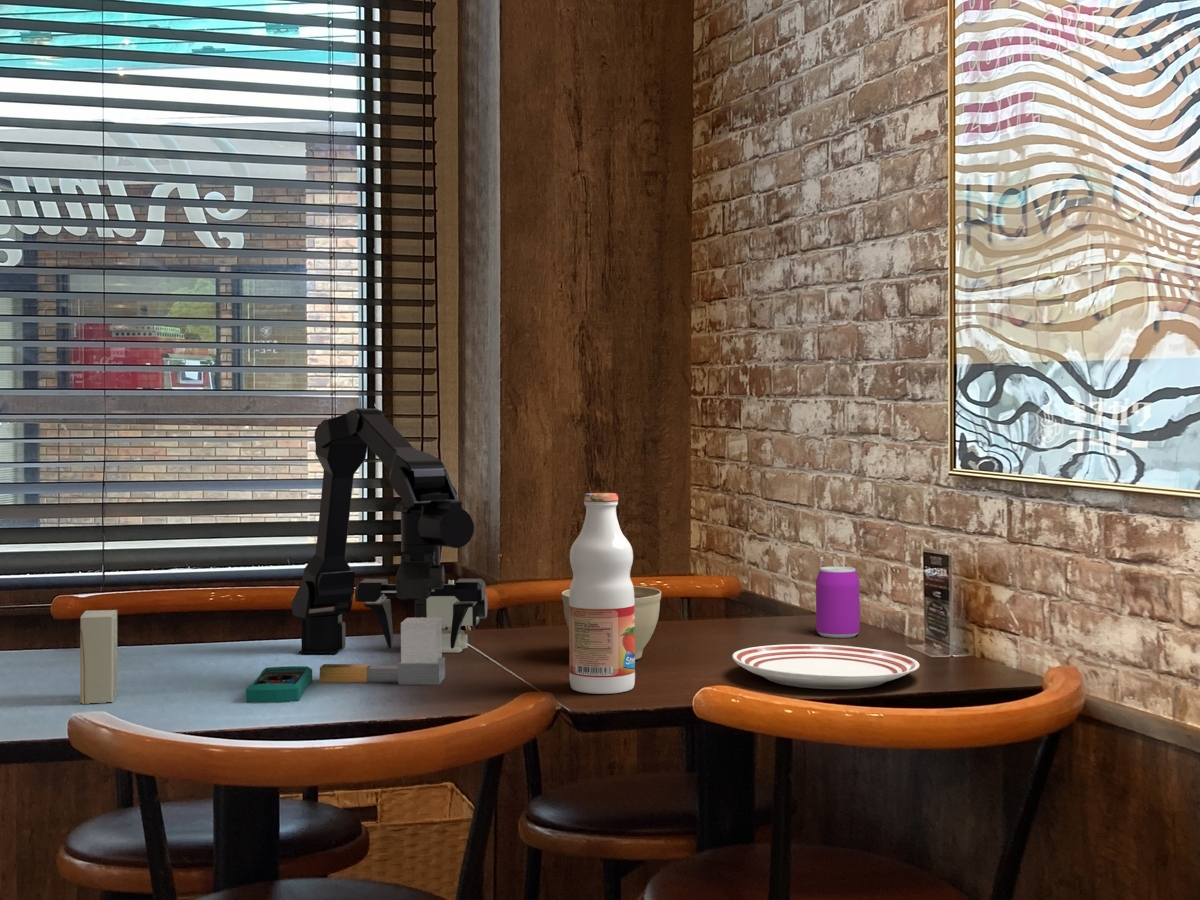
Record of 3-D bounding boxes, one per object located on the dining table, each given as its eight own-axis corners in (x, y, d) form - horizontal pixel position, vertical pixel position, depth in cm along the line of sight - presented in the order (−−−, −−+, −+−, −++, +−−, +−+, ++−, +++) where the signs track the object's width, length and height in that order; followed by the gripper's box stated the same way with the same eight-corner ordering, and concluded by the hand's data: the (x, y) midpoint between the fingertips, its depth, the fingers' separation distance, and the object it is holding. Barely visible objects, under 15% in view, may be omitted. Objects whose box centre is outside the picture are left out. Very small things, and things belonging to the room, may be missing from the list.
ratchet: (316, 684, 189) (316, 647, 189) (326, 676, 195) (326, 640, 195) (439, 684, 189) (438, 647, 188) (445, 676, 195) (444, 640, 194)
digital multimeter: (244, 706, 177) (244, 685, 176) (263, 685, 191) (262, 665, 191) (298, 705, 177) (298, 684, 177) (313, 684, 192) (313, 664, 192)
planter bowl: (547, 654, 213) (547, 588, 213) (636, 647, 220) (635, 583, 219) (585, 670, 198) (584, 600, 198) (678, 662, 205) (678, 594, 205)
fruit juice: (562, 684, 188) (561, 492, 188) (624, 680, 191) (622, 491, 190) (579, 697, 179) (577, 495, 179) (643, 692, 182) (642, 494, 181)
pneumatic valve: (485, 653, 214) (484, 581, 214) (414, 654, 214) (414, 582, 214) (488, 648, 219) (488, 577, 219) (420, 648, 220) (419, 578, 219)
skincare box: (85, 696, 182) (84, 610, 182) (119, 694, 183) (117, 609, 183) (79, 705, 176) (78, 616, 176) (114, 703, 177) (113, 615, 177)
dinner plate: (853, 656, 210) (853, 636, 210) (958, 688, 184) (958, 665, 184) (701, 669, 200) (701, 648, 200) (789, 704, 174) (789, 680, 174)
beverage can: (810, 632, 233) (809, 566, 233) (850, 631, 234) (850, 565, 234) (825, 639, 225) (824, 571, 225) (866, 638, 227) (866, 570, 227)
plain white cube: (401, 663, 189) (400, 622, 189) (407, 657, 194) (407, 617, 194) (436, 663, 189) (436, 622, 189) (441, 657, 194) (441, 617, 194)
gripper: (346, 548, 183) (347, 658, 184) (476, 548, 183) (477, 657, 183) (362, 541, 195) (363, 644, 195) (485, 541, 194) (486, 644, 194)
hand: (421, 648), depth 192 cm, fingers open, 9 cm apart
